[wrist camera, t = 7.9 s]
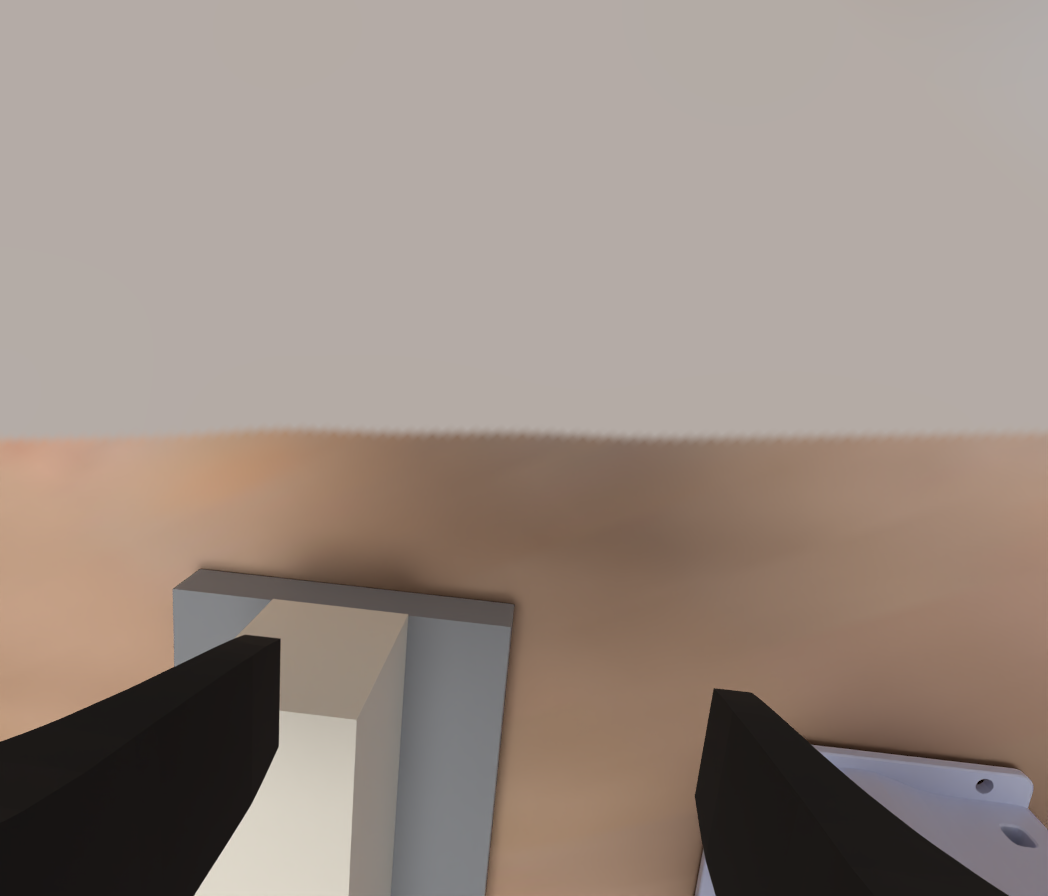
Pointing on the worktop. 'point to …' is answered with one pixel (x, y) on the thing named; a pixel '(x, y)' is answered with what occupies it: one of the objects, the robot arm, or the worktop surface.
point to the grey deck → (403, 711)
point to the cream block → (324, 759)
